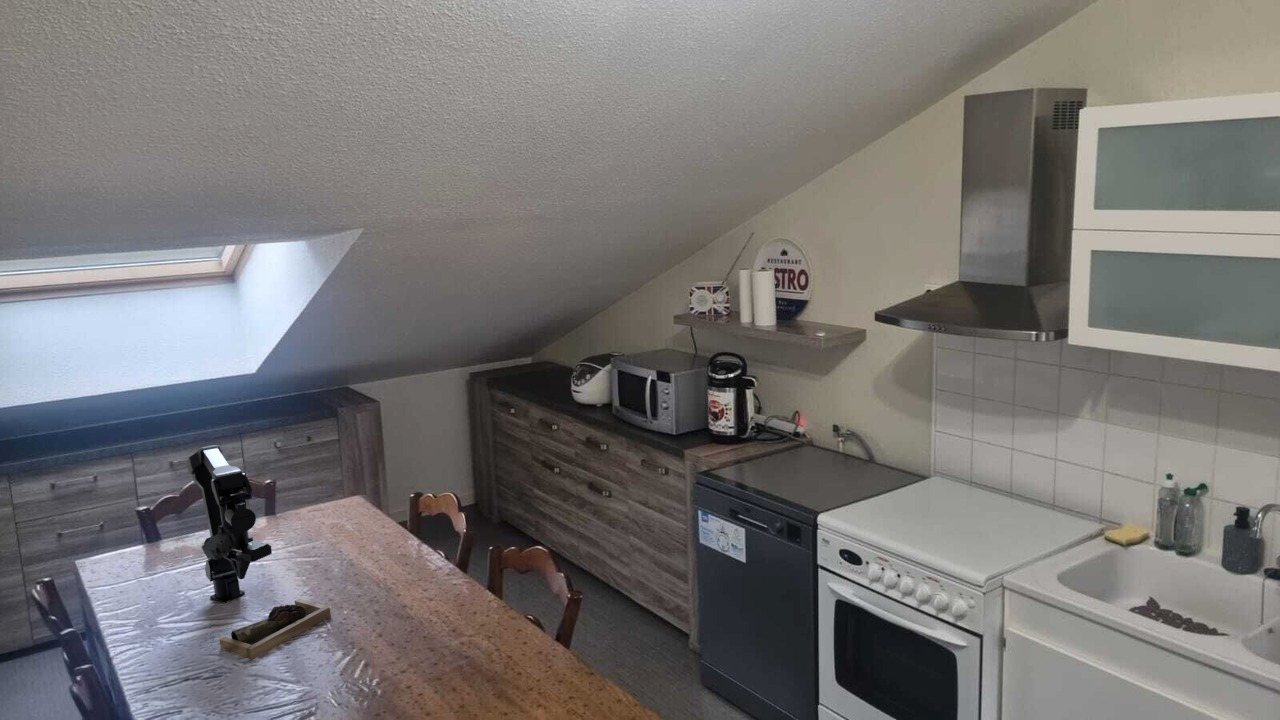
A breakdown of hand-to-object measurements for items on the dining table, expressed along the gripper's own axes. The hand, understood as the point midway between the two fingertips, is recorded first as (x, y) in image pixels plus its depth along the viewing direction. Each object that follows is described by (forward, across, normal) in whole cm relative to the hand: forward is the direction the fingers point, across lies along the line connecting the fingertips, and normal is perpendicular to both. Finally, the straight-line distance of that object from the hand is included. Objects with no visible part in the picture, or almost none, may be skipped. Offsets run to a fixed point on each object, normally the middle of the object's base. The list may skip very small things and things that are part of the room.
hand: (241, 578), depth 239 cm
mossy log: (+12, +10, -1) cm, 16 cm away
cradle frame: (+12, +12, 0) cm, 17 cm away
